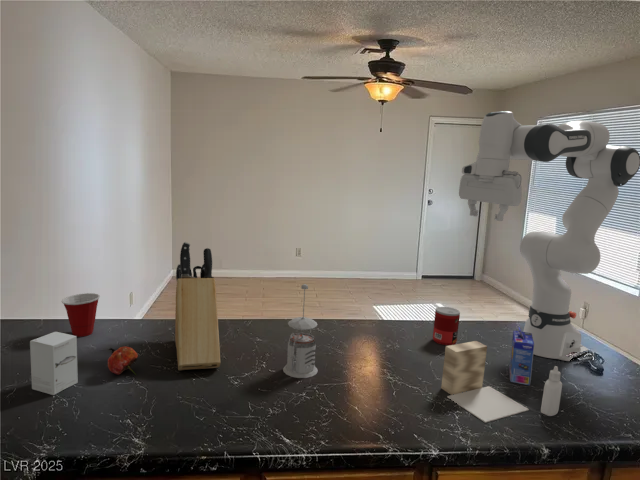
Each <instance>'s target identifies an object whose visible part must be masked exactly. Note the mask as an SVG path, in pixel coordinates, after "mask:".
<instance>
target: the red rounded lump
mask: <svg viewBox="0 0 640 480" xmlns="http://www.w3.org/2000/svg"><path fill="white" fill-rule="evenodd" d="M108 351H111V355H110V356H109V357H108V358H107V367H108V369H109V371H110V373H112V374H114V375H118V376H119V375H121V374H122V373H123V372H124V371H126V370H128V369H129V371H131V372H132V373H133V374H134V375H135V376H137V373H135V371H134V370H133V369H132V368H131V366H132V365H133V364H134V363H135V362H136V361H137V360H138V357H139V354H138V352H137V351H135V349H133V347H130V346H121V347H119V348H117V349H113V347H110V348H109V349H108Z"/></svg>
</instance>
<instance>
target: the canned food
mask: <svg viewBox="0 0 640 480" xmlns="http://www.w3.org/2000/svg"><path fill="white" fill-rule="evenodd" d="M460 314H461V312H460V310H458V309H456V308H454V307H449V306H439V307H438V306H437V307H436V308H435V312H434V321H433V331H432V341H434V343H436V344H439V345H443V346H450V345H456V344H457V342H458V335H459V334H458V333H459V325H460V324H459V323H460V316H461V315H460Z"/></svg>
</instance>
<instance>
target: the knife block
mask: <svg viewBox="0 0 640 480" xmlns="http://www.w3.org/2000/svg"><path fill="white" fill-rule="evenodd" d="M190 246H191V244H190V242H187V241H184V242H183V243H182V246H181V248H180V253H179V264H177V267H176V272H175V274H176V275H175V278H176V279H175V280H176V288H175V316H174V317H175V319H174V320H175V321H174V323H175V324H174V325H175V326H174V327H175V329H174V331H175V333H174V337H175V339H174V340H175V347H176V348H175V349H176V358H177V360H176V361H177V369H178V371H185V370H187V371H188V370H201V369H203V370H206V369H216V368H220V366H221V350H220V335H219V334H220V332H219V317H218V303H217V301H218V300H217V287H216V285H217V284H216V279H215V277H214V276H212V274H213V273H212V272H213V255H212V250H211V248H210V247H209V248H208V247H207V248H204V249H203V264H202V266H200V265H195V266H194V267H193V269H191V256H190V255H191V253H190V250H191V249H190ZM197 270H200V275H199V277H198V273H197Z"/></svg>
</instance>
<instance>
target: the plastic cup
mask: <svg viewBox="0 0 640 480" xmlns="http://www.w3.org/2000/svg"><path fill="white" fill-rule="evenodd" d="M100 297H101V296H100V294H99V293H94V292H93V293H92V292H91V293H90V292H87V293H85V292H84V293H79V294H73V295H70V296H67V297H64V298H62V300H61V303H62V304H63V306H64V308H65V311H66V315H67V318H68V323H69V325H70V326H69V327H70V329H71V333H72V335H74V336H77V337H80V338H81V337H88V336H90V335H92V334H93V332H94V328H95V327H94V326H95V323H96V317H97V308H98V303H99V299H100Z"/></svg>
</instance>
